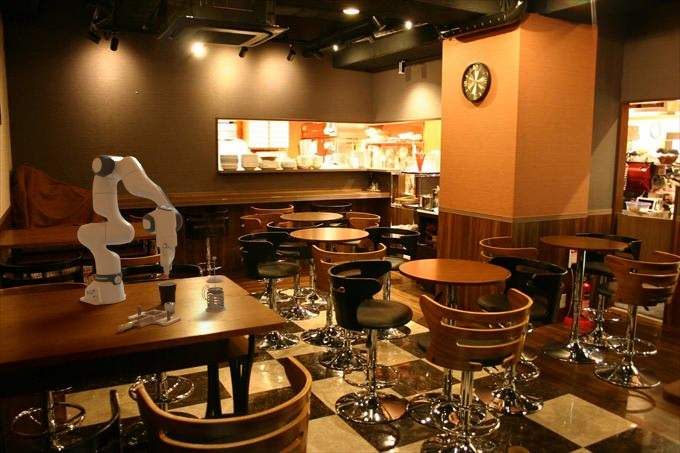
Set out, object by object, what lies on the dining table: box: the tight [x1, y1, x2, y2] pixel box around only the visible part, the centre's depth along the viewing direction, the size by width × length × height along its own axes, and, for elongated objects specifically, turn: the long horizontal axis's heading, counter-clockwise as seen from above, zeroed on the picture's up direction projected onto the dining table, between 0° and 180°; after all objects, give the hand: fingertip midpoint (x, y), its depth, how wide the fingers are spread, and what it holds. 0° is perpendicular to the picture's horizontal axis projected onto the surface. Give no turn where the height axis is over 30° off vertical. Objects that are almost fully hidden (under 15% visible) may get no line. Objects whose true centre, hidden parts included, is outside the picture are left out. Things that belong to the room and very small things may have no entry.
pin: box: [117, 320, 139, 333], centre depth 231 cm, size 9×3×3 cm, turn 154°
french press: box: [201, 256, 227, 313], centre depth 258 cm, size 10×12×25 cm
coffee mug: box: [157, 281, 178, 307], centre depth 271 cm, size 12×9×10 cm
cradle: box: [127, 305, 182, 328], centre depth 241 cm, size 22×15×5 cm
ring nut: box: [164, 302, 176, 315], centre depth 254 cm, size 4×4×5 cm
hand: (168, 272), depth 252 cm, fingers open, 8 cm apart
